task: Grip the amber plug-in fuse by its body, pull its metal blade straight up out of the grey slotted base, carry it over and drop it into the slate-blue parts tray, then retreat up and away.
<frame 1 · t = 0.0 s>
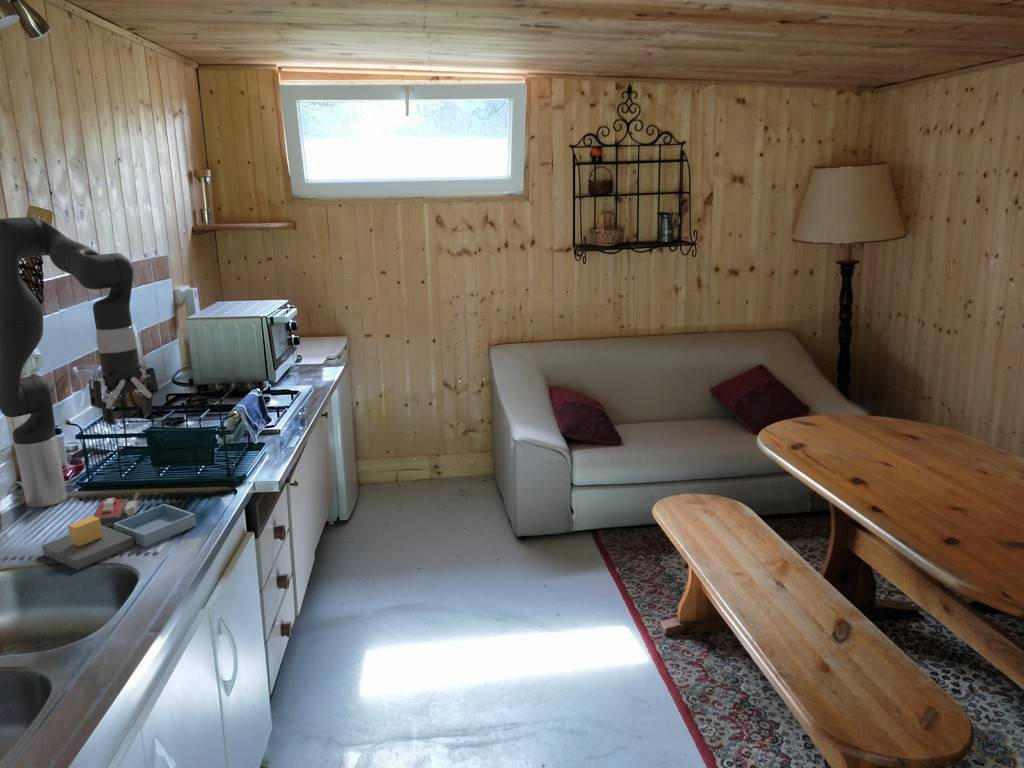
hand: (129, 418, 173), 29 cm above the counter, fingers open, 8 cm apart
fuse: (86, 536, 176), in the grey slotted base
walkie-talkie: (117, 515, 196), on the counter
grey slotted base: (89, 550, 177), on the counter
parts tray: (156, 530, 186), on the counter
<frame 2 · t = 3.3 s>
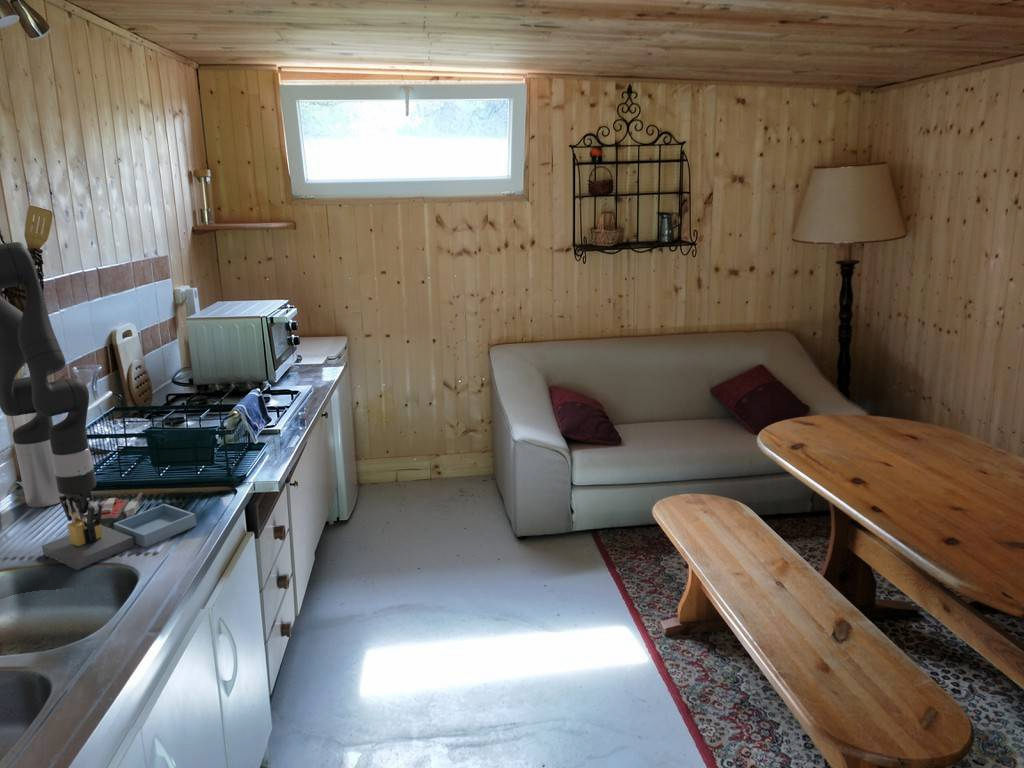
hand: (87, 540, 176), 2 cm above the counter, fingers closed on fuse, 3 cm apart
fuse: (86, 535, 176), in the grey slotted base, touching gripper
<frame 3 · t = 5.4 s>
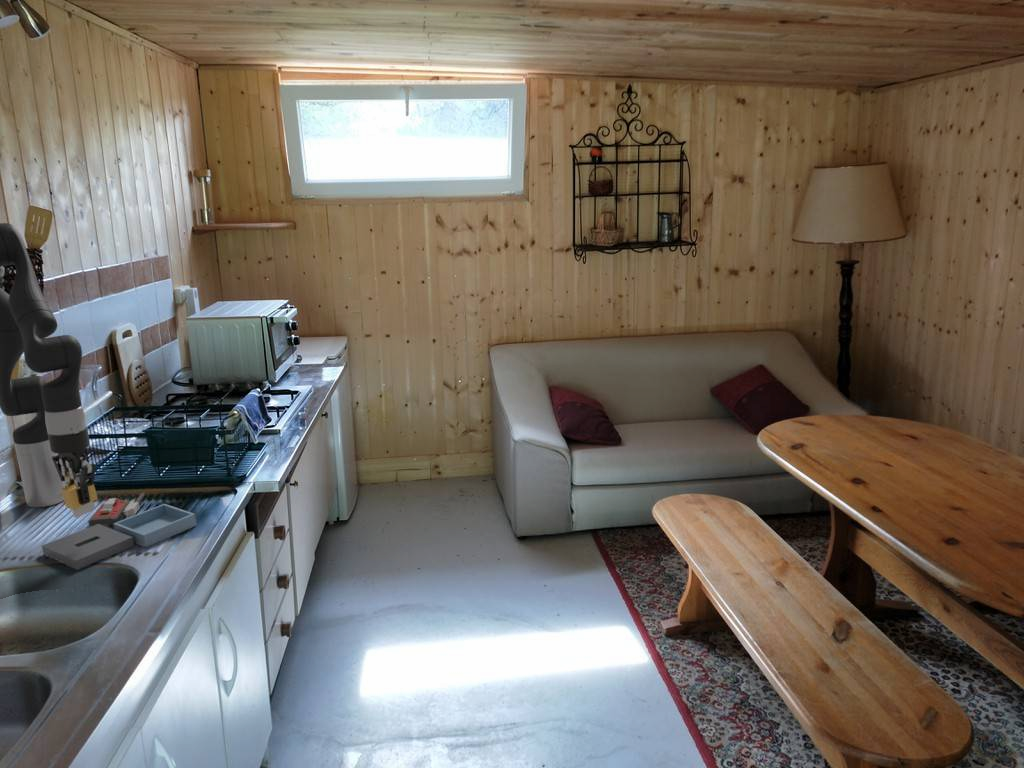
hand: (80, 501, 174), 12 cm above the counter, fingers closed on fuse, 2 cm apart
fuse: (81, 499, 174), point 12 cm above the counter, tilted 5°, touching gripper
everything else where it was.
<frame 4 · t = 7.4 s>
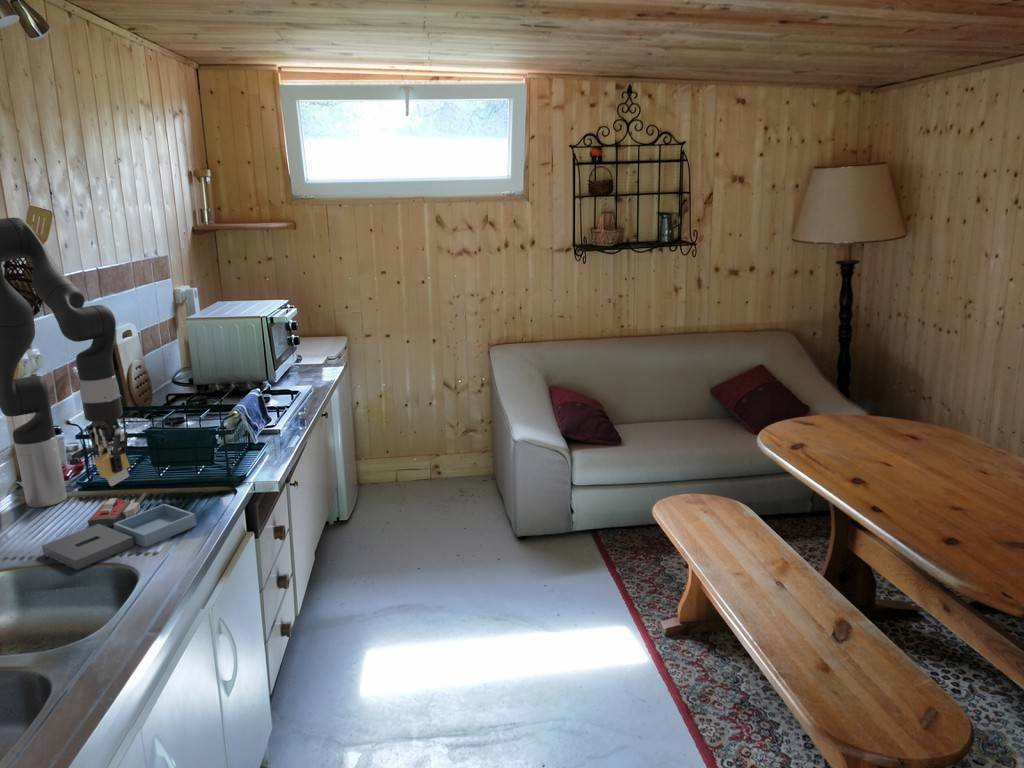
hand: (113, 470, 177), 17 cm above the counter, fingers closed on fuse, 2 cm apart
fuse: (114, 467, 177), point 18 cm above the counter, tilted 13°, touching gripper
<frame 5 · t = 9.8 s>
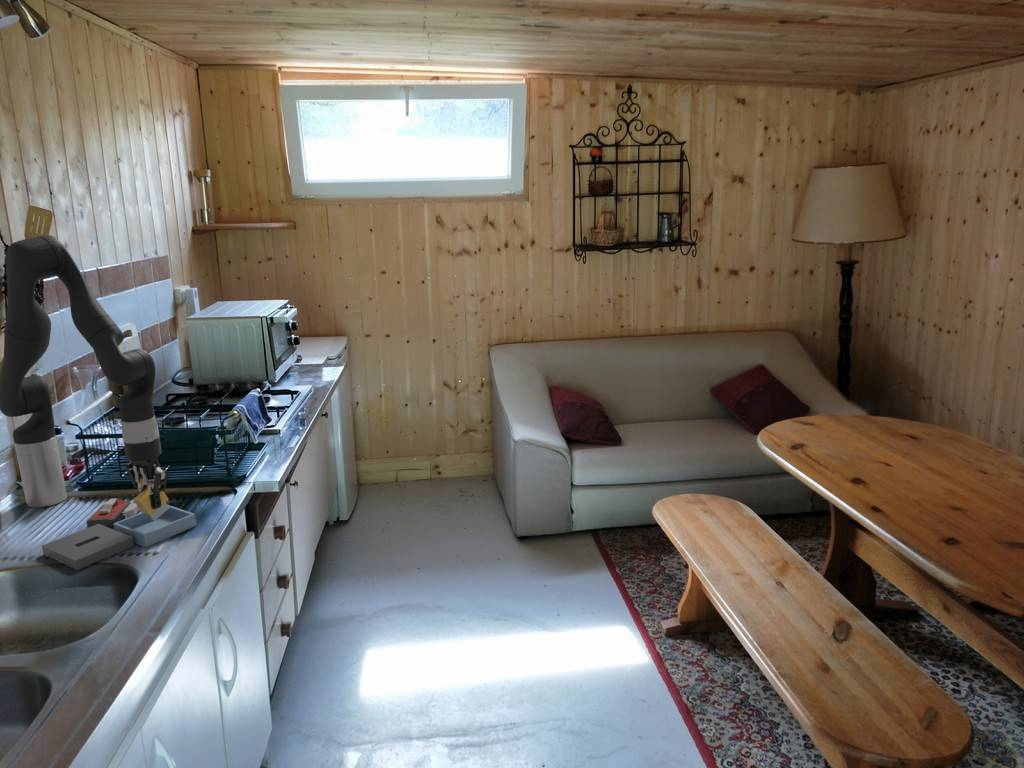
hand: (152, 506, 184), 6 cm above the counter, fingers closed on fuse, 2 cm apart
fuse: (153, 503, 184), point 7 cm above the counter, tilted 23°, touching gripper
when the fingers open (4 cm above the counter, at t = 10.6 s): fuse moves 1 cm, resting on parts tray.
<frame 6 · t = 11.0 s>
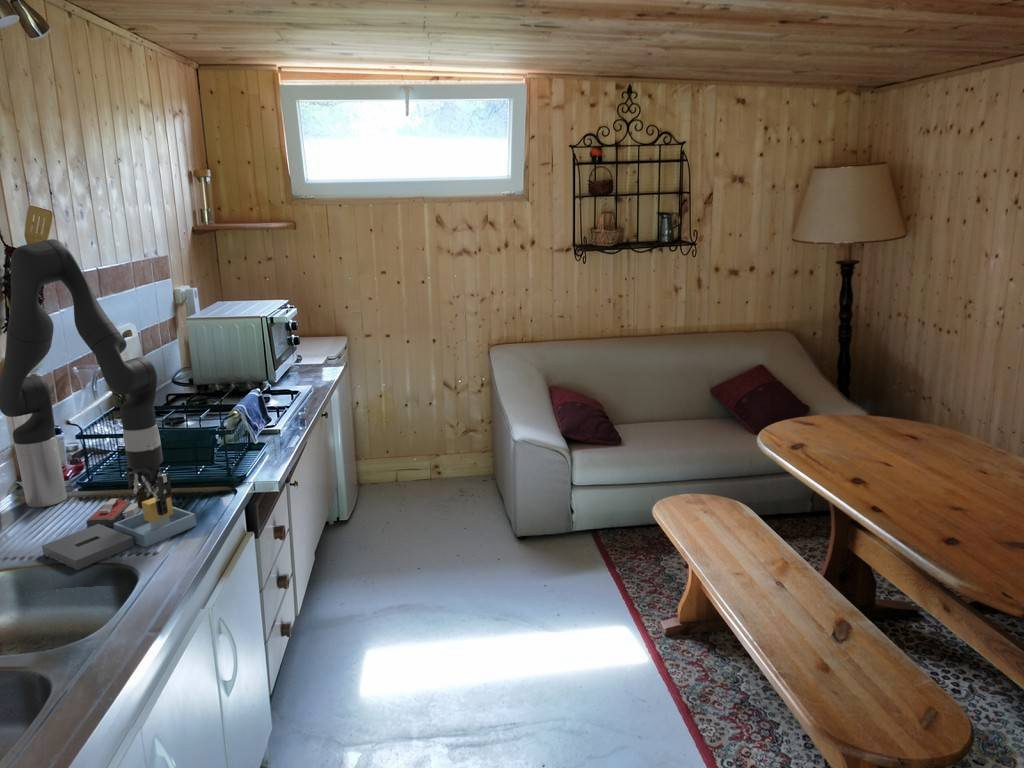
hand: (153, 510, 184), 5 cm above the counter, fingers open, 7 cm apart
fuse: (158, 512, 186), in the parts tray
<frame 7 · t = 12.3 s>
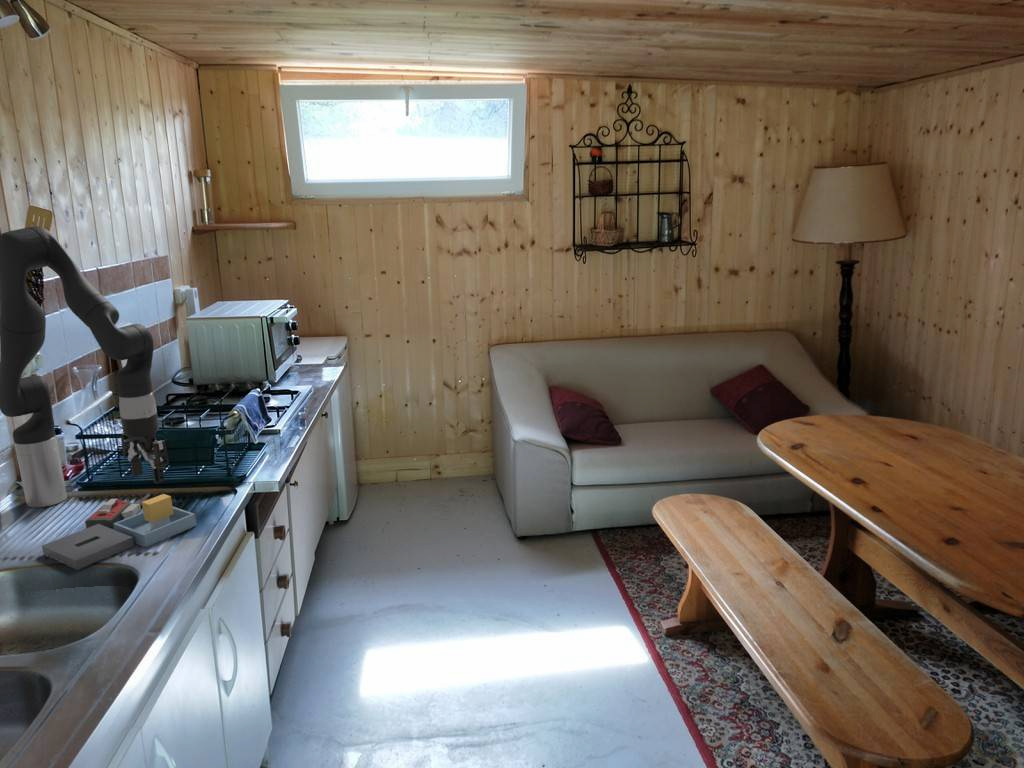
hand: (148, 478, 182), 13 cm above the counter, fingers open, 8 cm apart
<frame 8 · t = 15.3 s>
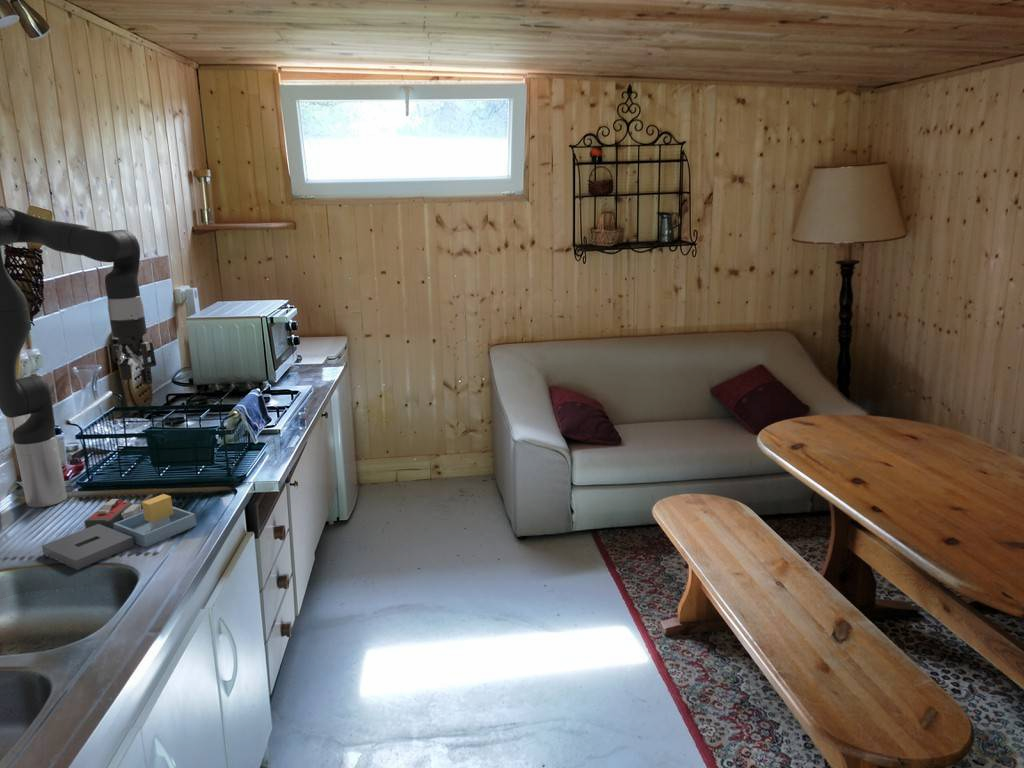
hand: (137, 381, 190), 33 cm above the counter, fingers open, 8 cm apart
at the end: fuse inside the target area on the parts tray (1.2 cm from its centre), point 4.0 cm above the parts tray's base; the gripper is holding nothing; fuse moved 15.7 cm from its start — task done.
